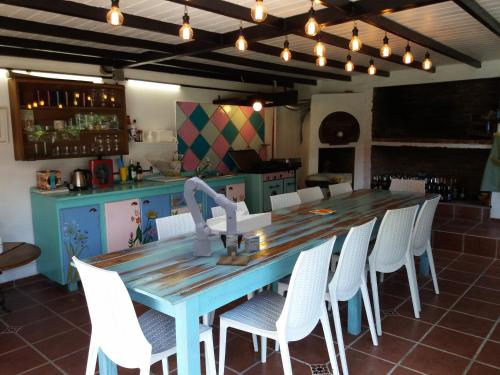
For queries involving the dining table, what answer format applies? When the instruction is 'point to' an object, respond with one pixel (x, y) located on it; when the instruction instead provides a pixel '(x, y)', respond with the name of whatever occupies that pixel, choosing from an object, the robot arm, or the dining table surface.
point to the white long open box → (240, 222)
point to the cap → (231, 250)
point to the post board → (233, 260)
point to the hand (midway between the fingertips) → (232, 248)
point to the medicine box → (252, 244)
